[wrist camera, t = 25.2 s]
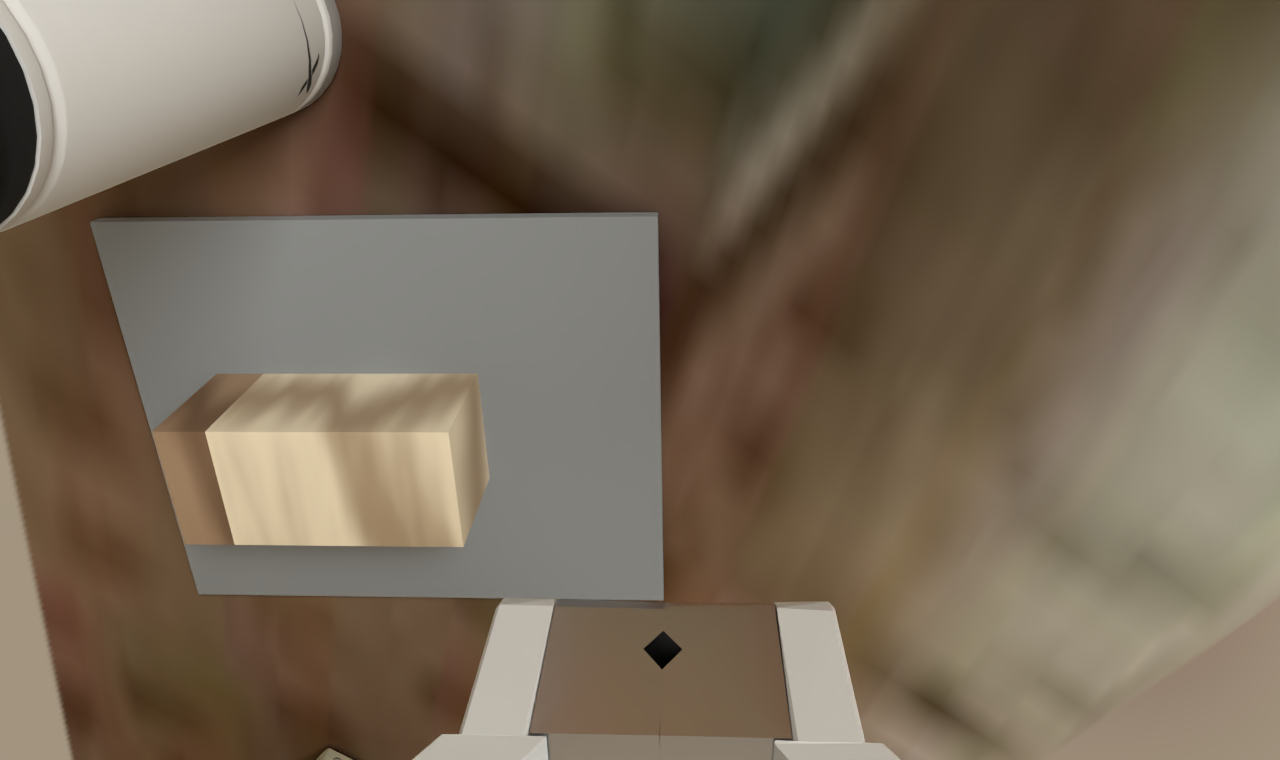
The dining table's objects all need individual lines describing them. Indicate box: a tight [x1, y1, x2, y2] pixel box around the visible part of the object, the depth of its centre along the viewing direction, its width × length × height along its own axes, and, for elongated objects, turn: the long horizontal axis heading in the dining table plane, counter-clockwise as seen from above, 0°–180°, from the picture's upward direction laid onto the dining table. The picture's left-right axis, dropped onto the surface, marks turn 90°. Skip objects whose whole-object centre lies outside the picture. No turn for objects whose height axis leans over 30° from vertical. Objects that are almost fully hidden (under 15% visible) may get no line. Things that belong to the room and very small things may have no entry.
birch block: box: [152, 374, 489, 547], centre depth 36 cm, size 5×5×11 cm
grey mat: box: [90, 212, 664, 600], centre depth 38 cm, size 22×18×1 cm
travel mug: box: [0, 0, 342, 232], centre depth 23 cm, size 6×7×20 cm
